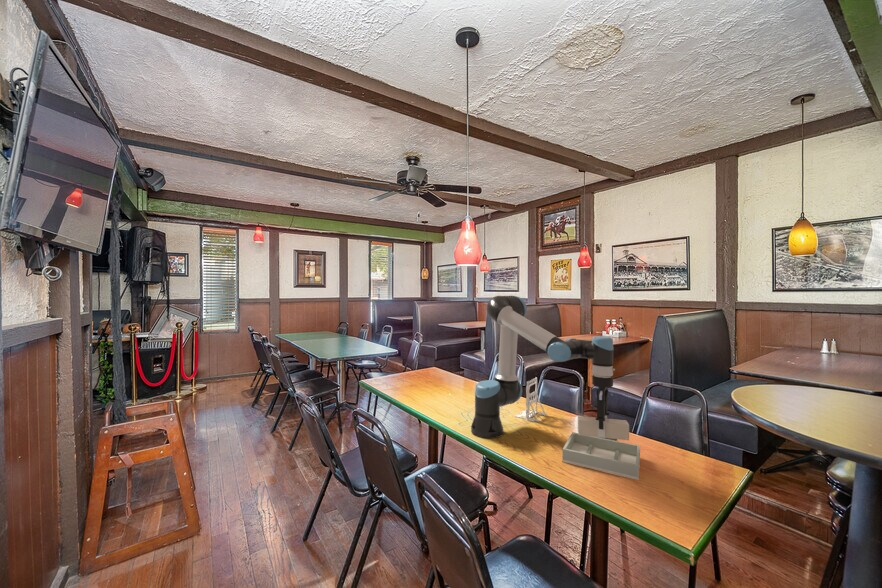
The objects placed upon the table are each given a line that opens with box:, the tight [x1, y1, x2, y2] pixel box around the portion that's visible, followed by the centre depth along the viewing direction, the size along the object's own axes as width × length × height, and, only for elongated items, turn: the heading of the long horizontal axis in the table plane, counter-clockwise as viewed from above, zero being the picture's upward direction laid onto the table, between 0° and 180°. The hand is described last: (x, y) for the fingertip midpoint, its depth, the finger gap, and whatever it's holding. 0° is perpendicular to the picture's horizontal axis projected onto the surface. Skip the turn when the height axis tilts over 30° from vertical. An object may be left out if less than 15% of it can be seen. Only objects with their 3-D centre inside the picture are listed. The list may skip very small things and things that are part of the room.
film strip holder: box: [514, 376, 548, 423], centre depth 190 cm, size 14×14×20 cm
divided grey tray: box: [561, 431, 641, 481], centre depth 140 cm, size 26×20×5 cm
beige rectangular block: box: [577, 415, 630, 441], centre depth 140 cm, size 18×5×6 cm, turn 74°
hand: (602, 434), depth 140 cm, fingers closed on beige rectangular block, 6 cm apart
